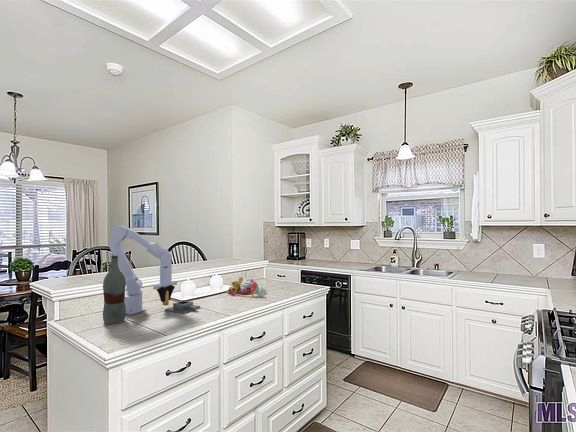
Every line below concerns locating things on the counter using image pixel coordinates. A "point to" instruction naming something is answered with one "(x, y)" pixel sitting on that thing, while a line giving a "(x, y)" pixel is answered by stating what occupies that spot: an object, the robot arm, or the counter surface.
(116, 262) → the bottle
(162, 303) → the round-ended pin
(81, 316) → the counter surface
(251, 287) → the pastel sphere sculpture
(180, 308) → the grey slotted socket block
